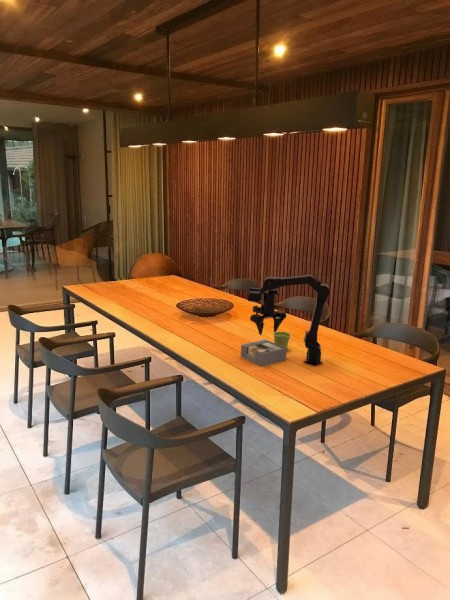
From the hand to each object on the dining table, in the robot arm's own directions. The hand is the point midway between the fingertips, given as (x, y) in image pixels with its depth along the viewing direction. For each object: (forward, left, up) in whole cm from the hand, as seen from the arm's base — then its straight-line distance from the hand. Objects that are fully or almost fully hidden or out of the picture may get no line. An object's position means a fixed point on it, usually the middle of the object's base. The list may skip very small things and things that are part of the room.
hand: (267, 333), depth 236 cm
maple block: (0, +6, -10) cm, 12 cm away
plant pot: (+6, -16, -14) cm, 22 cm away
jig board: (+1, +1, -13) cm, 14 cm away
